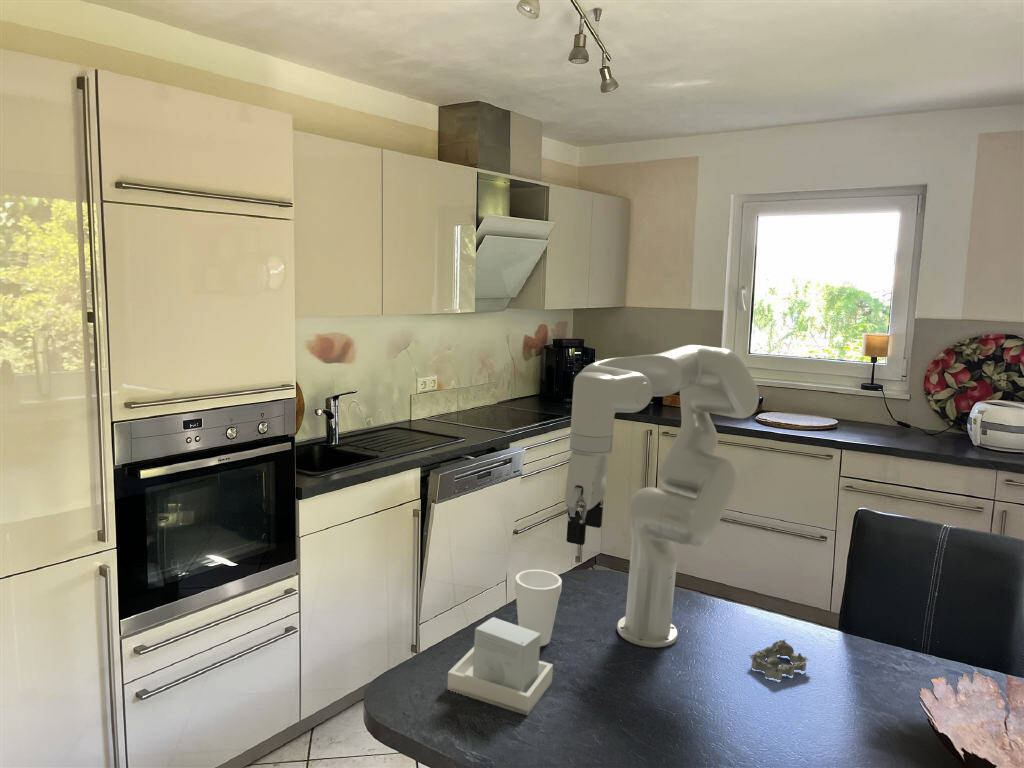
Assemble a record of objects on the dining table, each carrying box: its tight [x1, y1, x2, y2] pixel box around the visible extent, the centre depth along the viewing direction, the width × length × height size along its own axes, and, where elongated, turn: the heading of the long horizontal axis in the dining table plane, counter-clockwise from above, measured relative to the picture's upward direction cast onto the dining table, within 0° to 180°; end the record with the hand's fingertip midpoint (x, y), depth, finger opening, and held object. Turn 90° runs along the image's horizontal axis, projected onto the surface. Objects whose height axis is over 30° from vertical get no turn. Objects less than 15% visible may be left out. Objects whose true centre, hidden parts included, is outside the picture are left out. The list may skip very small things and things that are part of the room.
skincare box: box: [473, 616, 541, 693], centre depth 132 cm, size 10×6×10 cm, turn 58°
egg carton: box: [748, 639, 811, 681], centre depth 145 cm, size 11×8×4 cm
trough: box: [447, 646, 554, 716], centre depth 134 cm, size 12×16×4 cm
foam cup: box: [514, 569, 563, 647], centre depth 151 cm, size 10×9×13 cm
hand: (584, 534), depth 133 cm, fingers open, 9 cm apart
